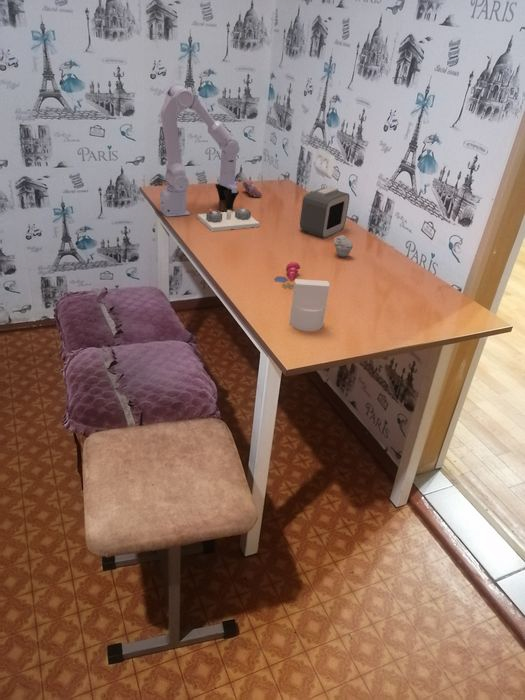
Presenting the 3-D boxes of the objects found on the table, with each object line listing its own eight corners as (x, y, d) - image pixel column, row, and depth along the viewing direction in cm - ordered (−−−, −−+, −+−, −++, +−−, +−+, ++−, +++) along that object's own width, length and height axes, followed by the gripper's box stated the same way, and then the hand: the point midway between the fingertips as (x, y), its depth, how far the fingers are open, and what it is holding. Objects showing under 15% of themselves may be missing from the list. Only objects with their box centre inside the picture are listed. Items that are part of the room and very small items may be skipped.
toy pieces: (268, 273, 178) (269, 260, 175) (302, 272, 180) (304, 260, 178) (278, 291, 168) (280, 277, 166) (314, 289, 171) (316, 276, 168)
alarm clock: (321, 240, 205) (328, 197, 197) (295, 231, 211) (301, 189, 202) (344, 229, 217) (351, 189, 208) (319, 221, 222) (325, 181, 214)
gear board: (212, 231, 202) (212, 216, 199) (197, 218, 213) (197, 203, 210) (259, 226, 211) (260, 212, 208) (243, 214, 221) (244, 200, 218)
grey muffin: (335, 250, 198) (339, 231, 194) (354, 256, 195) (357, 236, 192) (328, 255, 194) (331, 236, 190) (347, 261, 191) (350, 241, 187)
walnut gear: (221, 212, 220) (222, 204, 219) (215, 207, 224) (216, 200, 223) (235, 211, 223) (235, 203, 221) (229, 206, 227) (229, 199, 225)
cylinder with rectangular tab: (320, 315, 157) (327, 276, 150) (324, 332, 149) (331, 291, 143) (288, 313, 156) (293, 273, 150) (290, 330, 149) (296, 289, 142)
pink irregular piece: (244, 194, 247) (239, 180, 242) (253, 189, 247) (248, 175, 243) (254, 202, 239) (248, 187, 235) (263, 196, 240) (257, 182, 235)
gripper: (245, 175, 212) (243, 210, 219) (229, 164, 222) (227, 198, 230) (228, 176, 209) (226, 212, 216) (212, 165, 219) (211, 200, 227)
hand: (225, 205), depth 223 cm, fingers closed on walnut gear, 6 cm apart
